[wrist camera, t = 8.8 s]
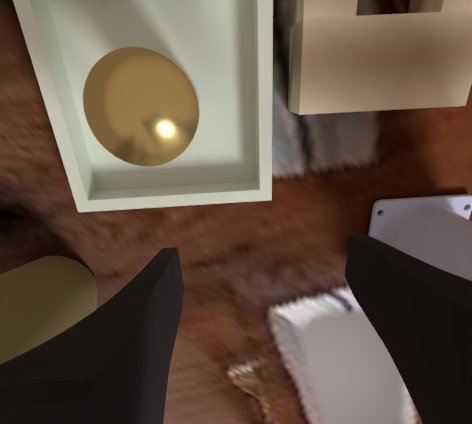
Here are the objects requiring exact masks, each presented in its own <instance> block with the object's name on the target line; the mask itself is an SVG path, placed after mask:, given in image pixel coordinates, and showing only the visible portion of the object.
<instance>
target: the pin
mask: <svg viewBox="0 0 472 424" xmlns="http://www.w3.org/2000/svg"><path fill="white" fill-rule="evenodd" d="M199 103H200V96H199V92H198V89H197V87H196V85H195V84H194V82H193V81H192V80H191V79H190V78H189V77H188V76H187V74H186V73H185V72H184V71H183V70H182V68H181V67H180V66H178V65H177V64H176V63H175V62H174V61H172V60H171V59H169V58H168V57H166V56H164V55H162V54H160V53H158V52H155V51H153V50H150V49H146V48H141V47H125V48H120V49H116V50H114V51H112V52H109V53H108V54H106V55H105V56H103V57H102V58H101V59H100V60H98V61H97V62H96V64H95V65H94V66H93V67H92V69H91V71H90V72H89V74H88V76H87V79H86V81H85V85H84V90H83V107H84V113H85V117H86V120H87V123H88V125H89V127H90V129H91V131H92V133H93V135H94V136H95V137H96V139H97V140H98V141H99V143H100V144H101V145H102V146H103V147H104V148H105V149H106V150H107V151H109V152H110V153H111V154H113V155H114V156H115V157H117V158H119V159H121V160H123V161H125V162H127V163H130V164H134V165H138V166H158V165H162V164H165V163H168V162H170V161H172V160H174V159H176V158H177V157H178V156H180V155H181V154H182V153H183V152H184V151H185V150H186V149H187V147H188V146H189V145H190V143H191V141H192V140H193V138H194V136H195V133H196V131H197V128H198V124H199V117H200V108H199Z"/></svg>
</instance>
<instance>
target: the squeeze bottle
mask: <svg viewBox="0 0 472 424" xmlns="http://www.w3.org/2000/svg"><path fill="white" fill-rule="evenodd" d="M97 294H98V288H97V283H96V279H95V277H94V276H93V275H92V273H91V272H90V271H89V269H88V268H87V267H85V266H84V265H82V264H81V263H79V262H77V261H76V260H73V259H70V258H67V257H63V256H44V257H42V258H39V259H37V260H34V261H32V262H29V263H27V264H24V265H22V266H19V267H17V268H15V269H12V270H10V271H7V272H5V273H2V274H0V364H2V363H5V362H7V361H9V360H11V359H13V358H15V357H17V356H19V355H21V354H23V353H25V352H27V351H29V350H31V349H33V348H35V347H37V346H39V345H40V344H42V343H44V342H46V341H48V340H49V339H51V338H53V337H55V336H56V335H58V334H60V333H62V332H63V331H65V330H67V329H68V328H70V327H71V326H73V325H74V324H76V323H77V322H79V321H80V320H82V319H83V318H85V317H86V316H88V315H89V314H91V313H92V312H94V311H95V310H96V306H97Z"/></svg>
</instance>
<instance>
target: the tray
mask: <svg viewBox="0 0 472 424" xmlns="http://www.w3.org/2000/svg"><path fill="white" fill-rule="evenodd" d="M13 2H14V5H15V9H16V12H17V15H18V18H19V21H20V25H21V28H22V31H23V34H24V38H25V41H26V44H27V47H28V51H29V54H30V57H31V60H32V64H33V67H34V70H35V73H36V77H37V80H38V83H39V86H40V89H41V93H42V96H43V99H44V102H45V106H46V109H47V112H48V115H49V119H50V122H51V125H52V128H53V132H54V135H55V138H56V141H57V144H58V148H59V151H60V154H61V157H62V161H63V164H64V167H65V170H66V174H67V177H68V180H69V183H70V187H71V190H72V193H73V196H74V200H75V203H76V206H77V209H78V212H92V211H107V210H123V209H139V208H155V207H170V206H186V205H202V204H218V203H234V202H249V201H265V200H272V75H273V0H13ZM125 47H141V48H146V49H150V50H153V51H155V52H158V53H160V54H162V55H164V56H166V57H168V58H169V59H171V60H172V61H174V62H175V63H176V64H177V65H178V66H180V67H181V68H182V70H183V71H184V72H185V73H186V74H187V76H188V77H189V78H190V79H191V80H192V81H193V82H194V84H195V85H196V87H197V89H198V92H199V96H200V103H199V108H200V117H199V124H198V128H197V131H196V133H195V136H194V138H193V140H192V141H191V143H190V145H189V146H188V147H187V149H186V150H185V151H184V152H183V153H182V154H181V155H180V156H178V157H177V158H176V159H174V160H172V161H170V162H168V163H165V164H162V165H158V166H138V165H134V164H130V163H127V162H125V161H123V160H121V159H119V158H117V157H115V156H114V155H113V154H111V153H110V152H109V151H107V150H106V149H105V148H104V147H103V146H102V145H101V144H100V143H99V141H98V140H97V139H96V137H95V136H94V135H93V133H92V131H91V129H90V127H89V125H88V123H87V120H86V117H85V113H84V107H83V90H84V85H85V81H86V79H87V76H88V74H89V72H90V71H91V69H92V67H93V66H94V65H95V64H96V62H97V61H98V60H100V59H101V58H102V57H103V56H105V55H106V54H108V53H109V52H112V51H114V50H116V49H120V48H125Z"/></svg>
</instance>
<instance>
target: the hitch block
mask: <svg viewBox="0 0 472 424" xmlns="http://www.w3.org/2000/svg"><path fill="white" fill-rule="evenodd" d="M357 2H358V0H291V19H290V53H289V88H288V111H291V112H293V113H296V114H298V115H307V114H325V113H343V112H361V111H380V110H398V109H416V108H434V107H453V106H465V105H466V102H467V98H468V94H469V91H470V87H471V83H472V0H410V5H409V10H408V13H405V14H383V15H361V16H356V11H357Z"/></svg>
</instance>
